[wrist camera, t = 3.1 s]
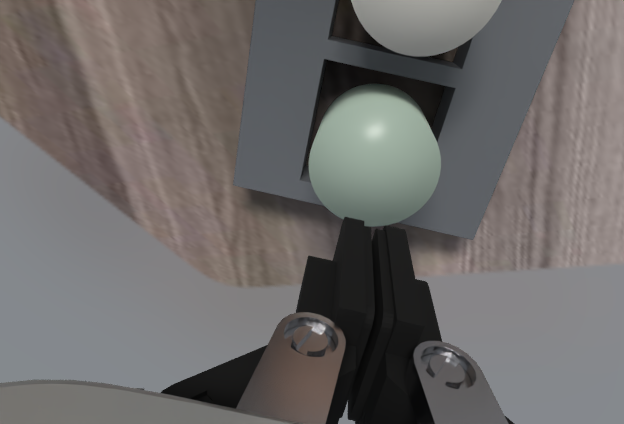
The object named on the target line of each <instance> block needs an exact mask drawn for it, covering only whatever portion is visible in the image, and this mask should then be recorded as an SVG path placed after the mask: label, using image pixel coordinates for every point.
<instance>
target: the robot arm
mask: <svg viewBox="0 0 624 424" xmlns="http://www.w3.org/2000/svg"><path fill="white" fill-rule="evenodd" d="M347 401H348V419H349V420H353V421H355V424H514V423H513V422H512V421H510V420H509V419H508V418H507V417H506V416H504V414H503V412H502V410H501V408H500V406H499V404H498V402H497V400H496V398H495V396H494V394H493V392H492V390H491V388H490V386H489V384H488V382H487V380H486V378H485V376H484V374H483V372H482V370H481V369H480V367H479V366H478V365H477V363H476V362H475V361H474V360H473V359H472V358H471V357H470V356H469V355H468V354H467V353H465V352H464V351H462V350H461V349H459V348H458V347H455V346H453V345H451V344H449V343H445V342H442V339H441V335H440V331H439V327H438V322H437V318H436V314H435V310H434V306H433V302H432V298H431V294H430V290H429V286H428V283H427V282H425V281H421V280H417V279H415V275H414V270H413V265H412V260H411V255H410V250H409V245H408V240H407V236H406V231H405V230H404V229H399V228H394V227H390V226H384V228H383V230H379V229H376V230H375V233H374V236H373V239H371V228H370V227H366V226H365V224H364V221H363V220H358V219H354V218H349V217H344V220H343V223H342V227H341V231H340V235H339V239H338V243H337V246H336V250H335V254H334V258H333V261H331V260H326V259H322V258H317V257H312V256H308V259H307V264H306V268H305V273H304V277H303V281H302V286H301V291H300V295H299V300H298V305H297V309H296V313H294V314H290V315H288V316H287V317H285V318H283V319H282V320H281V322H280V323H279V324H278V325H277V328H276V329H275V331H274V334H273V336H272V337H271V340H270V342H269V343H268V345H266V346H264V347H262V348H259V349H257V350H255V351H252V352H250V353H247V354H245V355H243V356H240V357H238V358H235V359H233V360H231V361H228V362H226V363H223V364H221V365H219V366H216V367H214V368H212V369H209V370H207V371H204V372H202V373H200V374H197V375H195V376H192V377H190V378H187V379H185V380H183V381H180V382H178V383H175V384H173V385H172V386H170V387H168V388H166V389H165V390H163V391H162V392H161V393H157V392H151V391H145V390H144V389H139V388H129V387H123V386H117V385H112V384H105V383H97V382H87V381H76V380H27V381H18V382H6V383H0V424H338V421H339V418H341V417H342V416H343V413H344V410H345V407H346V404H347Z"/></svg>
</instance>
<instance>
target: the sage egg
mask: <svg viewBox="0 0 624 424" xmlns="http://www.w3.org/2000/svg"><path fill="white" fill-rule="evenodd" d="M440 170H441V156H440V150H439V147H438V143H437V141H436V139H435V137H434V135H433V133H432V130H431V128H430V126H429V124H428V122H427V120H426V118H425V116H424V114H423V112H422V110H421V108H420V107H419V105H418V104H417V103H416V102H415V100H414V99H413V98H412V97H410V96H409V95H408V94H407V93H405V92H403V91H402V90H400V89H398V88H396V87H393V86H389V85H385V84H364V85H360V86H357V87H354V88H352V89H350V90H348V91H346V92H344V93H343V94H341V95H340V96H339V97H338V98H337V99H335V100H334V101H333V102H332V104H331V105H330V106H329V108H328V109H327V111H326V112H325V114H324V116H323V119H322V121H321V124H320V126H319V129H318V132H317V134H316V137H315V139H314V142H313V145H312V148H311V151H310V156H309V175H310V180H311V184H312V187H313V189H314V191H315V193H316V195H317V196H318V198H319V200H320V201H321V202H322V203H323V205H324V206H325V207H326V208H327V209H328V210H329V211H331V212H332V213H333V214H335V215H336V216H338V217H340V218H341V219H343V220H344V217H349V218H354V219H358V220H363V221H364V224H365V226H373V227H375V226H385V225H390V224H394V223H397V222H400V221H402V220H404V219H406V218H408V217H410V216H411V215H413V214H414V213H416V212H417V211H418V210H419V209H420V208H422V207H423V206H424V205H425V203H426V202H427V201H428V200H429V198H430V197H431V195H432V194H433V192H434V190H435V188H436V186H437V183H438V180H439V176H440Z"/></svg>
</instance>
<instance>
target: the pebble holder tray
mask: <svg viewBox="0 0 624 424" xmlns="http://www.w3.org/2000/svg"><path fill="white" fill-rule="evenodd" d="M338 2H339V0H256V3H255V12H254V20H253V28H252V36H251V44H250V52H249V60H248V69H247V77H246V85H245V93H244V101H243V109H242V118H241V126H240V134H239V142H238V150H237V158H236V167H235V175H234V183H233V185H235V186H239V187H243V188H248V189H252V190H256V191H261V192H265V193H270V194H274V195H278V196H283V197H287V198H292V199H296V200H300V201H305V202H309V203H314V204H318V205H322V206H324V205H323V203H322V202H321V201H320V200H319V198H318V196H317V195H316V193H315V191H314V189H313V187H312V184H311V180H310V175H309V166H306V161H307V156H308V151H309V146H310V141H311V136H312V131H313V126H314V121H315V116H316V111H317V106H318V101H319V96H320V91H321V86H322V81H323V76H324V71H325V66H326V61H327V60H331V61H336V62H340V63H345V64H349V65H354V66H358V67H363V68H367V69H372V70H376V71H381V72H385V73H390V74H394V75H399V76H403V77H408V78H412V79H417V80H421V81H426V82H430V83H435V84H439V85H444V86H445V89H444V92H443V95H442V98H441V101H440V104H439V107H438V110H437V113H436V116H435V119H434V122H433V125H432V128H431V130H432V133H433V135H434V137H435V139H436V141H437V143H438V147H439V150H440V156H441V170H440V176H439V180H438V183H437V186H436V188H435V190H434V192H433V194H432V195H431V197H430V198H429V200H428V201H427V202H426V203H425V205H424V206H423V207H422V208H420V209H419V210H418V211H417V212H416V213H414V214H413V215H411V216H410V217H408V218H406V219H404V220H402V221H400V222H397V223H401V224H406V225H410V226H414V227H419V228H423V229H428V230H432V231H436V232H441V233H445V234H450V235H454V236H458V237H463V238H467V239H471V240H473V239H474V237H475V234H476V232H477V229H478V227H479V225H480V222H481V220H482V218H483V215H484V213H485V210H486V208H487V206H488V203H489V201H490V199H491V196H492V194H493V192H494V189H495V187H496V184H497V182H498V180H499V177H500V175H501V173H502V170H503V168H504V166H505V163H506V161H507V158H508V156H509V154H510V151H511V149H512V147H513V144H514V142H515V140H516V137H517V135H518V132H519V130H520V128H521V125H522V123H523V121H524V118H525V116H526V113H527V111H528V109H529V106H530V104H531V102H532V99H533V97H534V95H535V92H536V90H537V87H538V85H539V83H540V80H541V78H542V76H543V73H544V71H545V69H546V66H547V64H548V61H549V59H550V57H551V54H552V52H553V50H554V47H555V45H556V43H557V40H558V38H559V35H560V33H561V31H562V28H563V26H564V24H565V21H566V19H567V16H568V14H569V12H570V9H571V7H572V5H573V2H574V0H502V1H501V3H500V5H499V6H498V8H497V10H496V12H495V13H494V15H493V16H492V17H491V19H490V20H489V21H488V23H487V24H486V25H485V26H484V27H483V28H482V29H481V30H480V31H479V32H478V33H477V34H476V35H475V36H474V37H472V38H471V39H470V40H468V41H467V42H465V43H464V44H462V45H460V46H458V49H457V52H456V55H455V58H454V61H453V62H448V61H444V60H439V59H435V58H430V57H425V56H409V55H404V54H400V53H397V52H394V51H392V50H390V49H388V48H385V47H380V46H376V45H371V44H367V43H362V42H358V41H353V40H349V39H344V38H340V37H335V36H332V31H333V27H334V22H335V17H336V12H337V7H338Z"/></svg>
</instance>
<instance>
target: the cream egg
mask: <svg viewBox="0 0 624 424" xmlns="http://www.w3.org/2000/svg"><path fill="white" fill-rule="evenodd" d="M501 1H502V0H351V2H352V5H353V8H354V11H355V13H356V15H357V17H358V19H359V21H360V22H361V24H362V25H363V27H364V28H365V30H366V31H367V32H368V33H369V34H370V35H371V37H373V38H374V39H375V40H376V41H377V42H378V43H380V44H381V45H383V46H384V47H386V48H388V49H390V50H392V51H394V52H397V53H400V54H404V55H409V56H433V55H437V54H441V53H445V52H447V51H450V50H452V49H455V48H457V47H458V46H460V45H462V44H464V43H465V42H467V41H468V40H470V39H471V38H472V37H474V36H475V35H476V34H477V33H478V32H479V31H480V30H481V29H482V28H483V27H484V26H485V25H486V24H487V23H488V21H489V20H490V19H491V17H492V16H493V15H494V13H495V12H496V10H497V8H498V6H499V5H500V3H501Z"/></svg>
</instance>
